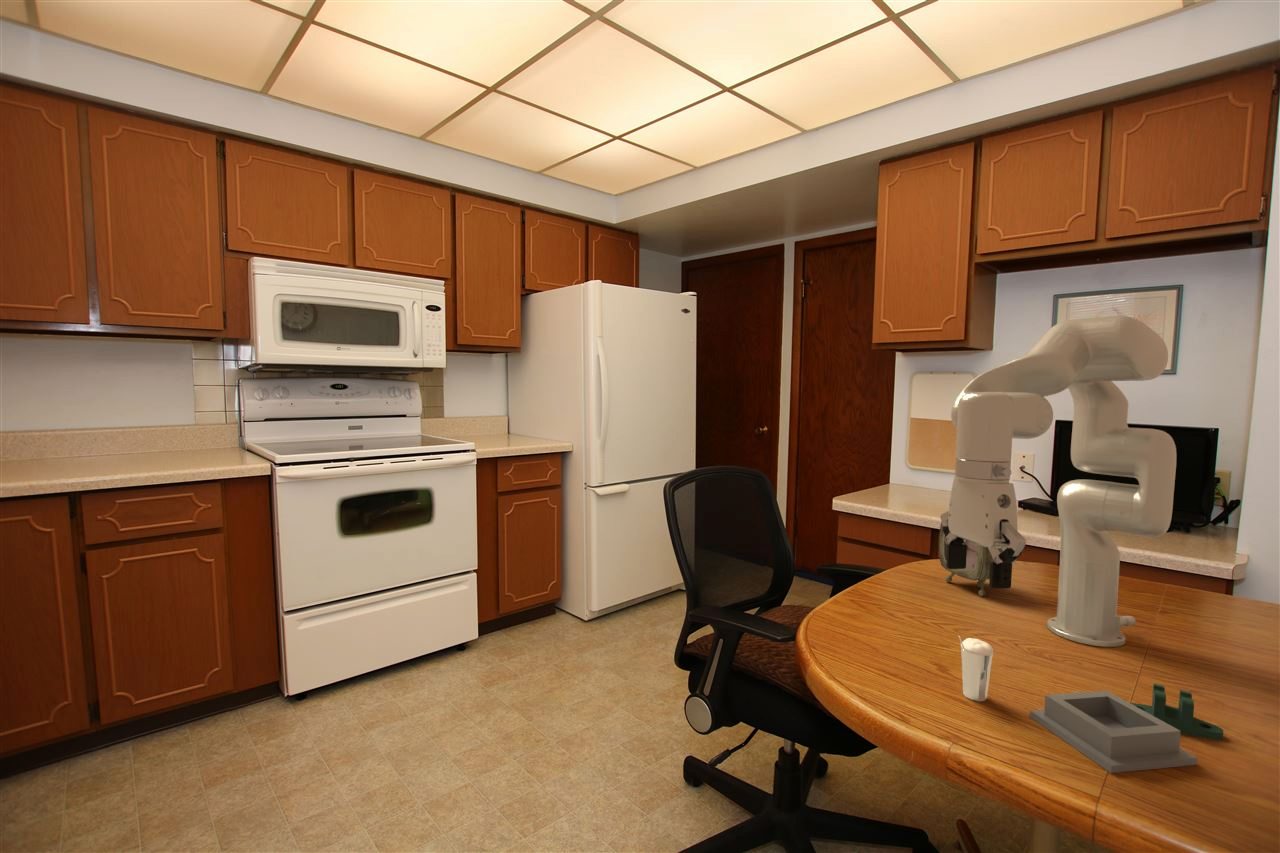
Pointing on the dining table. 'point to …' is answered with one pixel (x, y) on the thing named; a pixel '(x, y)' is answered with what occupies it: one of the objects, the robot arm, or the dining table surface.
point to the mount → (1180, 714)
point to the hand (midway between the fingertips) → (976, 577)
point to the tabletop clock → (969, 562)
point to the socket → (1113, 732)
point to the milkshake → (976, 668)
